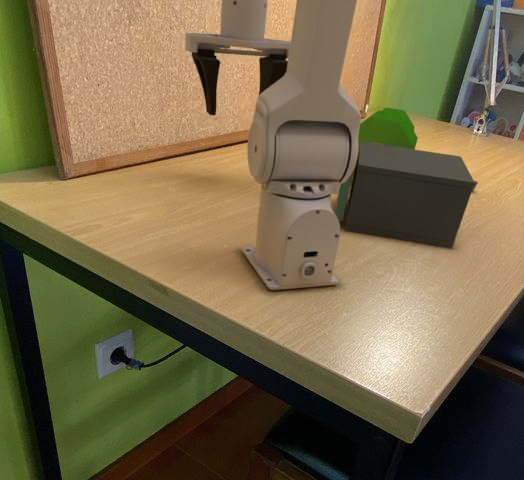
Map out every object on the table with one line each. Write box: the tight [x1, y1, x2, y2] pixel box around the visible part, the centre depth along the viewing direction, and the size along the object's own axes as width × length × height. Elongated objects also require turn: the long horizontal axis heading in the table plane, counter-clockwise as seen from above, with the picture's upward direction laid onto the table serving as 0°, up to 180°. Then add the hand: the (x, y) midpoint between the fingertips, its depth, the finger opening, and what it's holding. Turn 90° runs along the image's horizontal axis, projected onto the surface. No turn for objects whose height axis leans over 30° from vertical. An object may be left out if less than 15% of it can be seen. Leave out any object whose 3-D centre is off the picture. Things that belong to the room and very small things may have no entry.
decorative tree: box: [351, 107, 419, 180], centre depth 86 cm, size 11×12×30 cm
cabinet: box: [344, 141, 475, 249], centre depth 69 cm, size 14×12×9 cm
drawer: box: [334, 172, 353, 222], centre depth 69 cm, size 18×11×7 cm, turn 80°
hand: (237, 114), depth 71 cm, fingers open, 7 cm apart
